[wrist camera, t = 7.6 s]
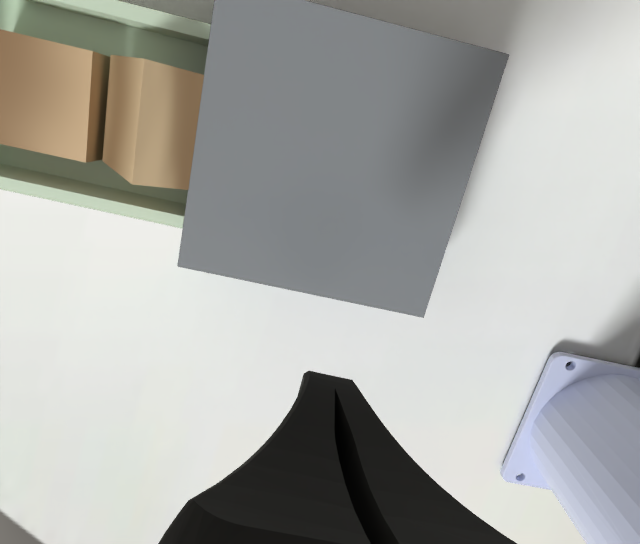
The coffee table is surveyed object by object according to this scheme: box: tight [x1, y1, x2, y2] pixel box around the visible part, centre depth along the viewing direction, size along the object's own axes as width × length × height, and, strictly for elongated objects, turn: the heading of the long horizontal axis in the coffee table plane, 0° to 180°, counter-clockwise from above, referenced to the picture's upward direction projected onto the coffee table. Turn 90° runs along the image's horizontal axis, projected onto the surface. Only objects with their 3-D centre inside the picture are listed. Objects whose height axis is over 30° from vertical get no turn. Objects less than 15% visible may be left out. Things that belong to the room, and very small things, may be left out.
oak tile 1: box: [102, 55, 204, 190], centre depth 17 cm, size 4×4×2 cm
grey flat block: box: [178, 0, 509, 318], centre depth 18 cm, size 10×10×4 cm
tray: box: [0, 0, 211, 228], centre depth 18 cm, size 10×8×2 cm
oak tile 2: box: [0, 29, 110, 163], centre depth 18 cm, size 4×4×2 cm
